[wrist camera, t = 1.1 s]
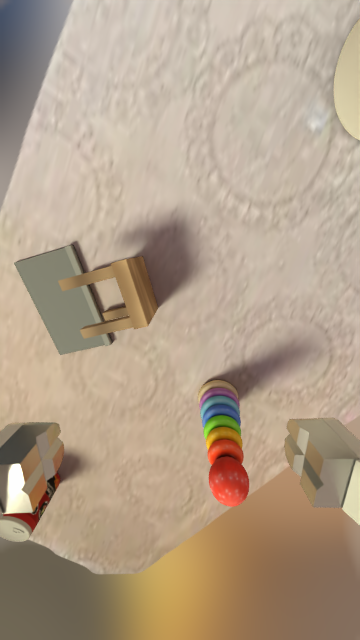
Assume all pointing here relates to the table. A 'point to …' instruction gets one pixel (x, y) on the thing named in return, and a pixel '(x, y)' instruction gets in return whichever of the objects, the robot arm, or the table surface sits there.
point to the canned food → (27, 516)
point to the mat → (62, 299)
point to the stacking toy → (223, 442)
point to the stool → (133, 292)
